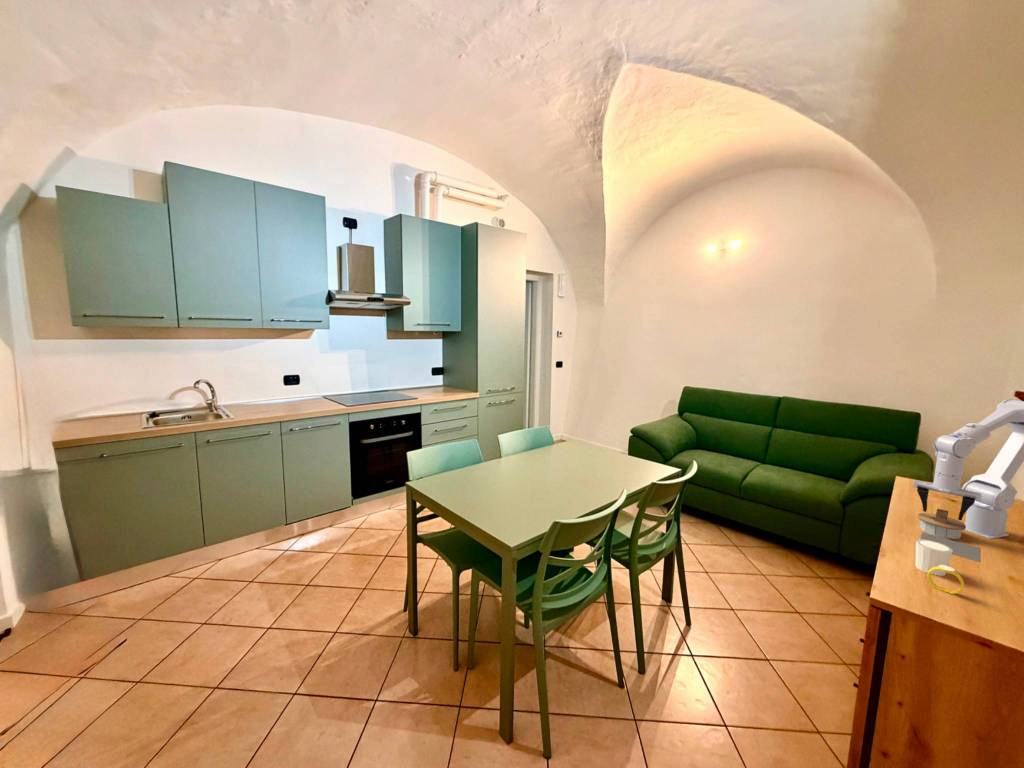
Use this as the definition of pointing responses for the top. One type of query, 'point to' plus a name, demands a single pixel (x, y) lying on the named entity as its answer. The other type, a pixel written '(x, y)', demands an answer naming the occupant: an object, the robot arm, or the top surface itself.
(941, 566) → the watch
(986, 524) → the robot arm
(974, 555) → the rubber mat
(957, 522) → the walnut lid
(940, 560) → the white cylinder
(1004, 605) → the top surface
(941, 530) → the grey curved piece
